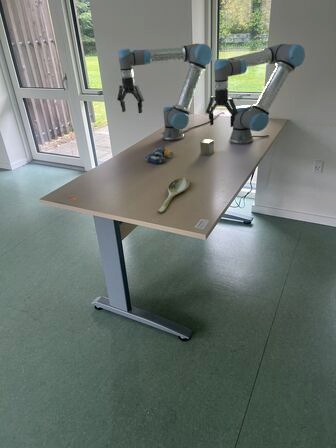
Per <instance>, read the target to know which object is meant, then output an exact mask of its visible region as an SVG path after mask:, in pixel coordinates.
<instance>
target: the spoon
mask: <svg viewBox="0 0 336 448" xmlns="http://www.w3.org/2000/svg"><path fill="white" fill-rule="evenodd" d="M190 184H191V183H190V179H189V178H188V177H178V178H175V179H173V180H172V181H170V183H169V184H168V186H167V191H168V196H167V198H166V199H165V200H164V201H163V203H162V204H161V205H160V207H159V208H158V210H157V212H158V213H164V212H166V211H167V208H168V206H169V204H170V202H171V200H172V199H173V198H174V197H176V196H177V195H179V194H181V193H183V192H185V191H186V190H187V189H188V188H189V186H190Z"/></svg>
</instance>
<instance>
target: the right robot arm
mask: <svg viewBox="0 0 336 448" xmlns="http://www.w3.org/2000/svg"><path fill="white" fill-rule="evenodd" d="M305 58H306V51H305V48H304V47H303V46H302V45H301V44H297V43H279V44H276V45H273V46H269V47H265V48H263V50H260V51H254V52H251V53H245V54H242V55H237V56H233V57H228V58H218V59H215V60H214V65H213V66H214V67H213V70H214V72H213V73H214V96H211V97H210V98H209V103H208V105H207V107H206V109H205V110H206V111H205V114H208V120H209V121H210V122H209V124H210V125H209V126H213V125H214V120H213V118H214V113H213V112H214V111H215V110H216V108H217V107H218V106H219V107H225V109H227V111H228V113H229V114H230V128H232V131H231V134H230V137H229V142H230V143H231V144H235V145H246V144H250V143H252V142H253V139H254V138H266V137H267V138H268V137H269V136H270V135H269V134H267V135H253V133H252V131H253V132H261V131H263V130H264V129H265V128H267V127H268V124H269V120H270V118H269V115H270V108H271V106H272V105H273V104H274V101H275V99H277V96H278V95H279V92H280V90H281V89H282V87H283V86H284V84H285V82H286V79H287V78H288V76H289V74H291V73H293V72H294V71H295V69H296V68H298V67H299V66H301V65H302V64H303V63H304V61H305ZM261 65H265V66H267V65H275V66H276V68H275V69H274V71H273V73H272V74H271V76H270V77H269V80H268V82H267V83H266V86H265V87H264V89H263V91H262V93H261V95H260V96H259V98H258V100H257V102H256V103H255V104H253V105H249V104H247V105H238V106H236V104H235V101H234V97H233V96H232V97H229V89H228V88H229V77H233V76H241V75H244V74H245V73H247V70H248V68H252V67H256V66H261ZM214 102H215V103H214Z"/></svg>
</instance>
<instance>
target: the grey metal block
mask: <svg viewBox="0 0 336 448" xmlns="http://www.w3.org/2000/svg"><path fill="white" fill-rule="evenodd" d="M214 144H215V143H214V139H206V138H205V139H202V140H201V141H200V145H199V146H200V155H202V156H211V155H212V154H214V152H215V151H214V148H215V146H214Z"/></svg>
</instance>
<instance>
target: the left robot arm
mask: <svg viewBox="0 0 336 448" xmlns="http://www.w3.org/2000/svg"><path fill="white" fill-rule="evenodd" d="M117 52H118V53H117V55H118V62H119V69H120V76H121V85H118V88H119V89H118V93H117V94H118V95H117V98H116V99H117V101H119V104H120V107H121V112H122V113H125V112H126V110H127V109H126V101H125V98H126V96H127V94H132V95H133V97H134V98H135V100H136V101H137V110H138V114H142V113H143V102H145V98H144V96H143V94H142V92H141V90H140V86H139V85H135V78H134V69H133V67H135V66H144V65H150V64H152V63H159V62H160V63H161V62H163V63H164V62H176V61H178V62H179V61H181V62H182V63H188V67H189V68H188V71H187V73H186V76H185V80H184V82H183V85H182V88H181V90H180V93H179V96H178V98H177V99H178V100H177V102H176V104H174V105H166V106H164V107H163V108H162V109H163V111H162V112H163V121H164V130H163V132H162V139H163V140H164V141H167V142H176V141H180V140H182V139H184V137H185V136H184V133H187V132H188V131H190V130H191V129H194V128H198V127H200V126H201V127H202V126H203V125H206V124H208V123H210V120H208V121H206V122H204V123H201V124H197V125H194V126H192V127H189V128H188V129H186V130H183V129H185V128H187V126H188V125H189V123H190V118H189V116H190V113H191V111H190V107H191V104H192V100H193V97H194V95H195V93H196V89H197V86H198V84H199V82H200V79H201V76H202V73H203V72H204V71H206V69H207V66H208V65H209V64H210V63H212V61H213V57H214V53H213V50H212V48H211V47H210V45H208V44H205V43H192V44H186V45H181V46H180V47H167V48H152V49H149V48H148V49H133V50H132V51H131V49H130V48H121V49H118V51H117ZM221 115H225V112H220V113H217V114H216V115H215V116H213V121H214V120H215V119H216V118H218V116H221Z"/></svg>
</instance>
